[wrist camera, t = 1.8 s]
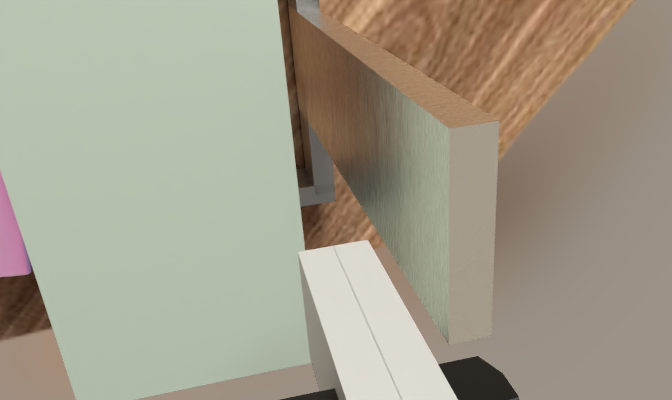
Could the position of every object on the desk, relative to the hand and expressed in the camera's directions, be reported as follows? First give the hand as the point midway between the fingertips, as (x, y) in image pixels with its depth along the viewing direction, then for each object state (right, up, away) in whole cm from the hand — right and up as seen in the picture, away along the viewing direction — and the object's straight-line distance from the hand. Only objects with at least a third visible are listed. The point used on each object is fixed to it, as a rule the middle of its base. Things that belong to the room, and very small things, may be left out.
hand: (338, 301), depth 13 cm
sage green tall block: (-10, +10, +22) cm, 26 cm away
